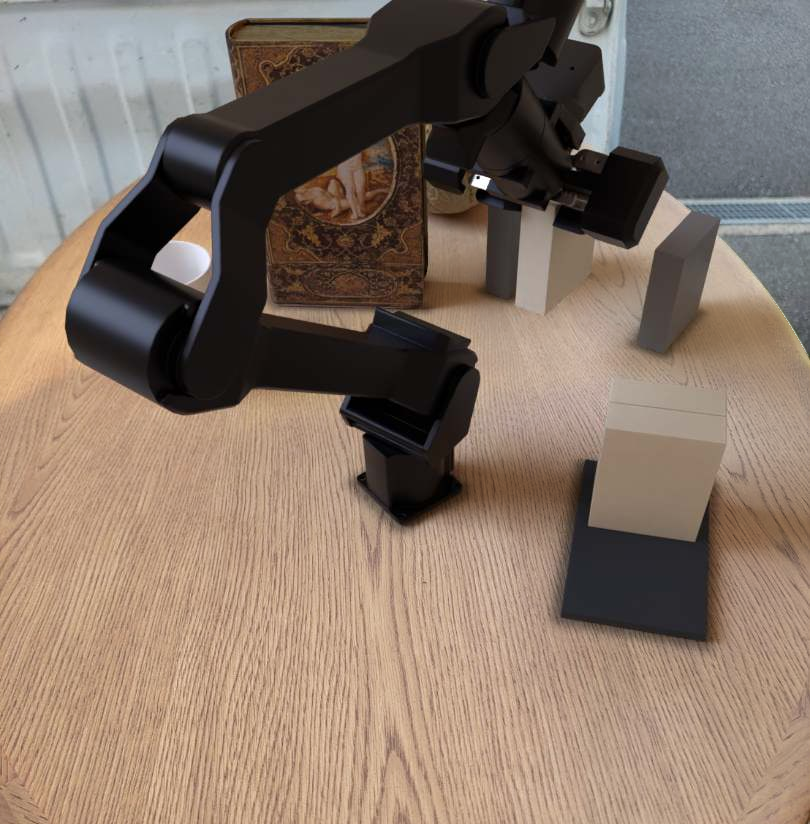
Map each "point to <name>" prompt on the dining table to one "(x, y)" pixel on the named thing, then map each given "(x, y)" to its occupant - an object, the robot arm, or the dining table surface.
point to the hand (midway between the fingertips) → (569, 213)
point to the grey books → (668, 283)
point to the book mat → (636, 577)
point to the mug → (185, 264)
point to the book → (338, 188)
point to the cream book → (549, 260)
